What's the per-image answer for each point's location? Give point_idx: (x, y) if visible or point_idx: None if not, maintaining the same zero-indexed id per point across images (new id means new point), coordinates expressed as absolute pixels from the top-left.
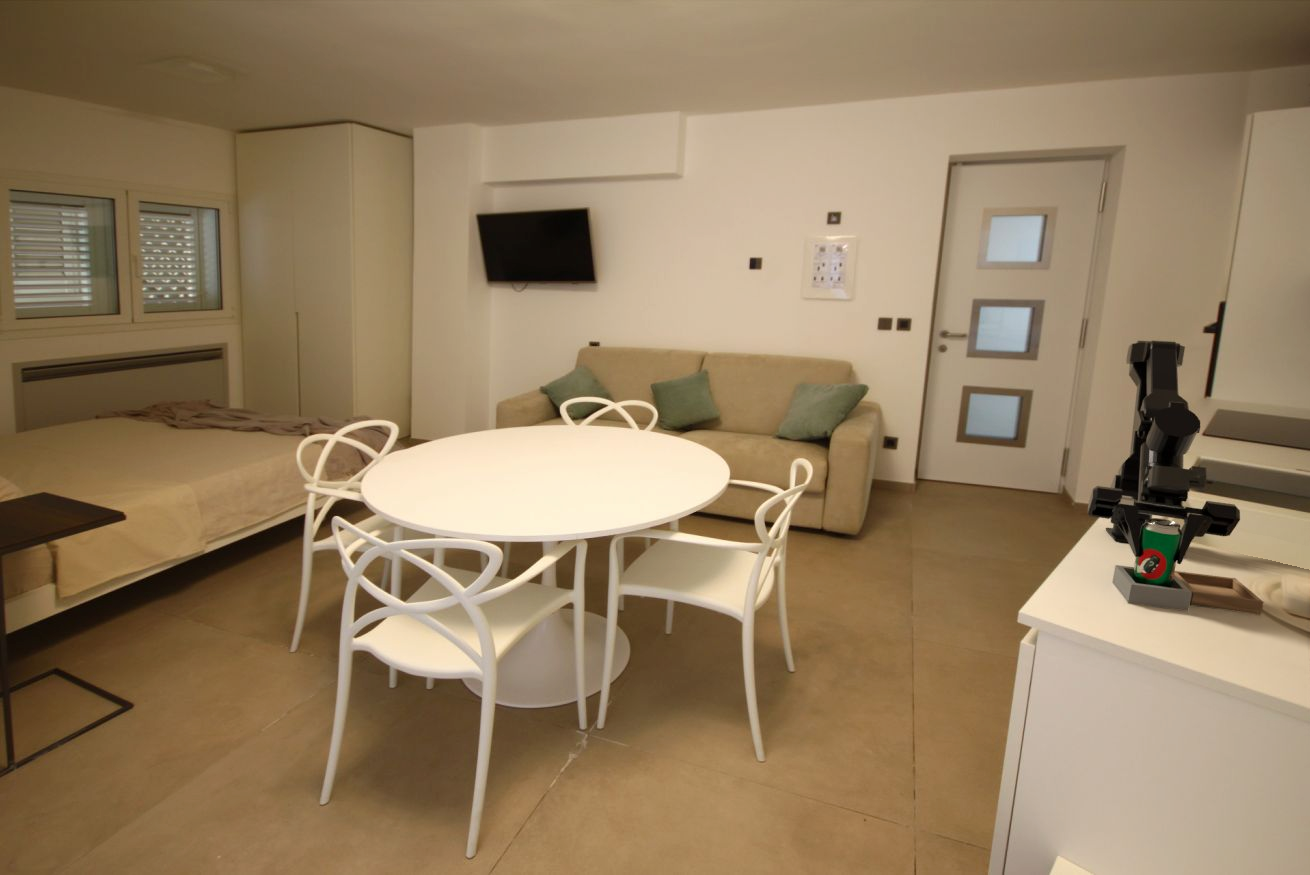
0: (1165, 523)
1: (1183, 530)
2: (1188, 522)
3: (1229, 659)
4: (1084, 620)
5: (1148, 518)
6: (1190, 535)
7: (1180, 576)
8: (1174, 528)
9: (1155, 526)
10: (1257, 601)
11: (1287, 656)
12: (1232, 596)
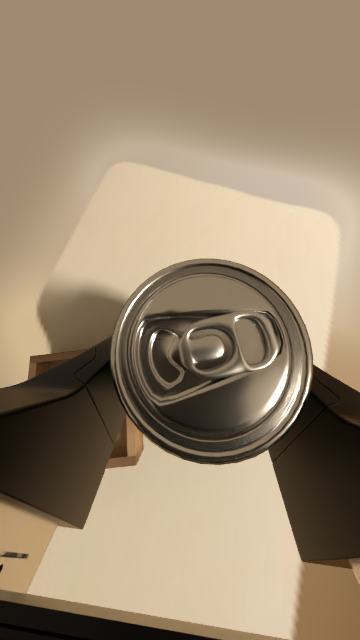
0: (194, 339)
1: (88, 419)
2: (33, 401)
3: (143, 205)
4: (280, 228)
5: (296, 413)
6: (80, 359)
7: (127, 429)
8: (161, 272)
9: (253, 280)
10: (39, 355)
11: (80, 238)
12: (71, 357)
